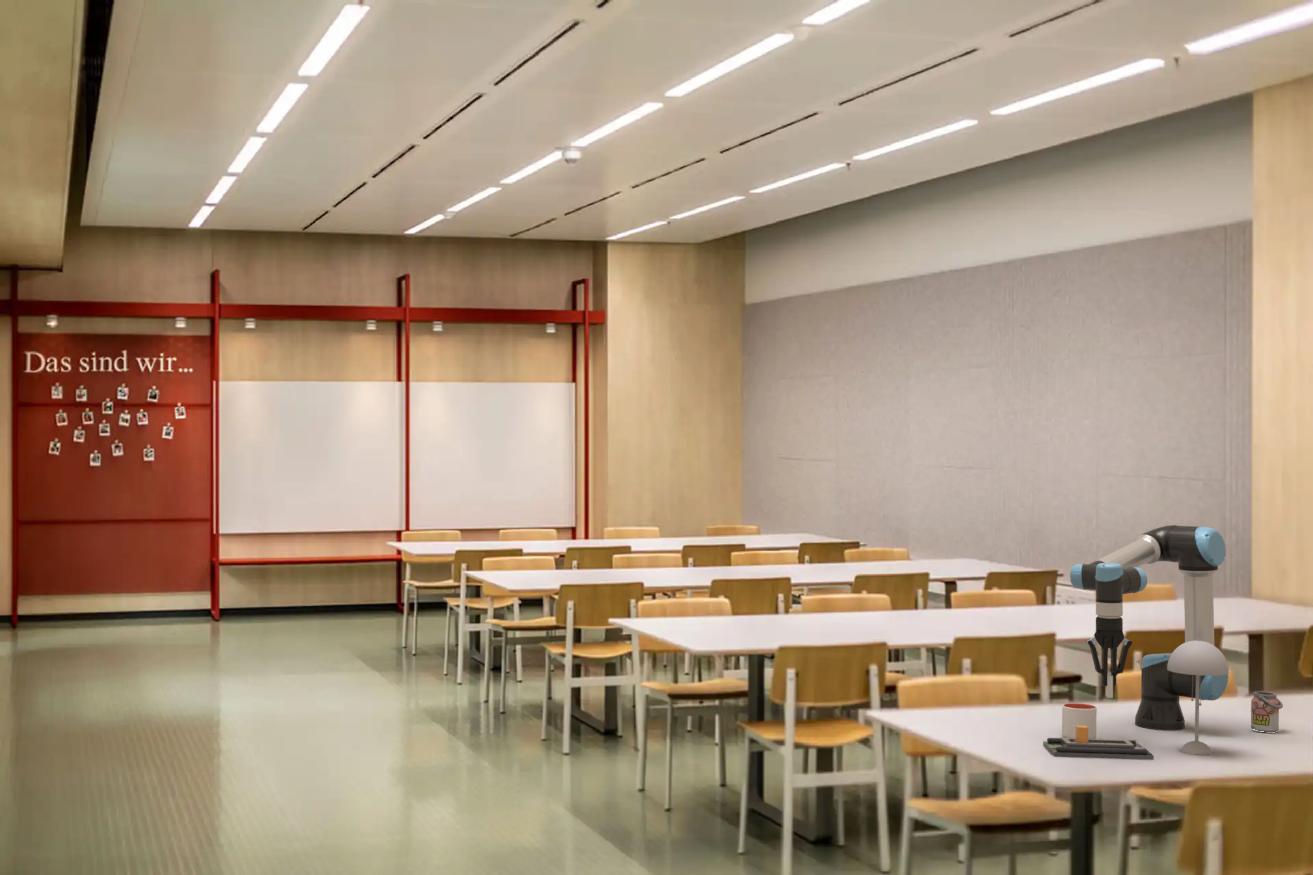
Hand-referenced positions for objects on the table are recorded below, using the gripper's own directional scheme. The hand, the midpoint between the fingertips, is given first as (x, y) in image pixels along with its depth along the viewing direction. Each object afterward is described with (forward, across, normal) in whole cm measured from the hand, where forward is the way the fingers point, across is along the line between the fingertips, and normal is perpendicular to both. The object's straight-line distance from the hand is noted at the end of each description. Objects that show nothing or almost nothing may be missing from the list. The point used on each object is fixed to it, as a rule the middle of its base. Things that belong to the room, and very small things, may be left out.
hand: (1109, 697), depth 436 cm
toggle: (+14, +8, +2) cm, 17 cm away
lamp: (+17, -26, -4) cm, 31 cm away
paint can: (+18, -58, -40) cm, 73 cm away
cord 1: (+15, +4, -5) cm, 16 cm away
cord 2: (+15, +4, +8) cm, 17 cm away
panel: (+16, +4, +2) cm, 16 cm away
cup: (+17, +5, -18) cm, 25 cm away
